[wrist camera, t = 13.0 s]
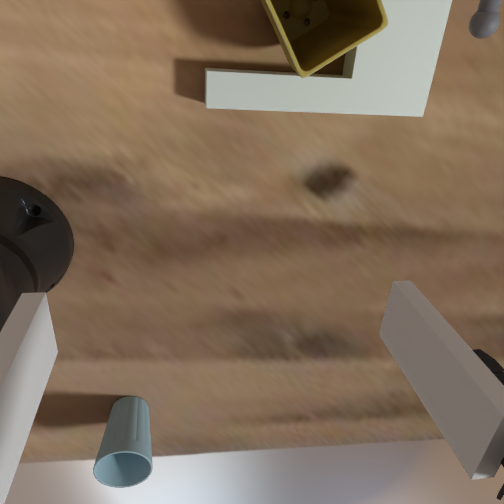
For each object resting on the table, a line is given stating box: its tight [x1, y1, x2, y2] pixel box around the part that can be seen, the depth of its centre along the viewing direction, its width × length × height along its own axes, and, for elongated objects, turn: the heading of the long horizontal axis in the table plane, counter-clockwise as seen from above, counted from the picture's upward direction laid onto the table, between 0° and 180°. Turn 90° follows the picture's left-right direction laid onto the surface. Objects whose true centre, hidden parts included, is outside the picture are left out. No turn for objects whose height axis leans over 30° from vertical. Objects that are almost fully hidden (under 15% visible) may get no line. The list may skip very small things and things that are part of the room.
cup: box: [93, 396, 152, 488], centre depth 61 cm, size 8×8×10 cm
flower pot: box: [260, 0, 388, 78], centre depth 38 cm, size 9×9×9 cm
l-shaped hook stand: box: [205, 0, 502, 117], centre depth 35 cm, size 24×20×17 cm
